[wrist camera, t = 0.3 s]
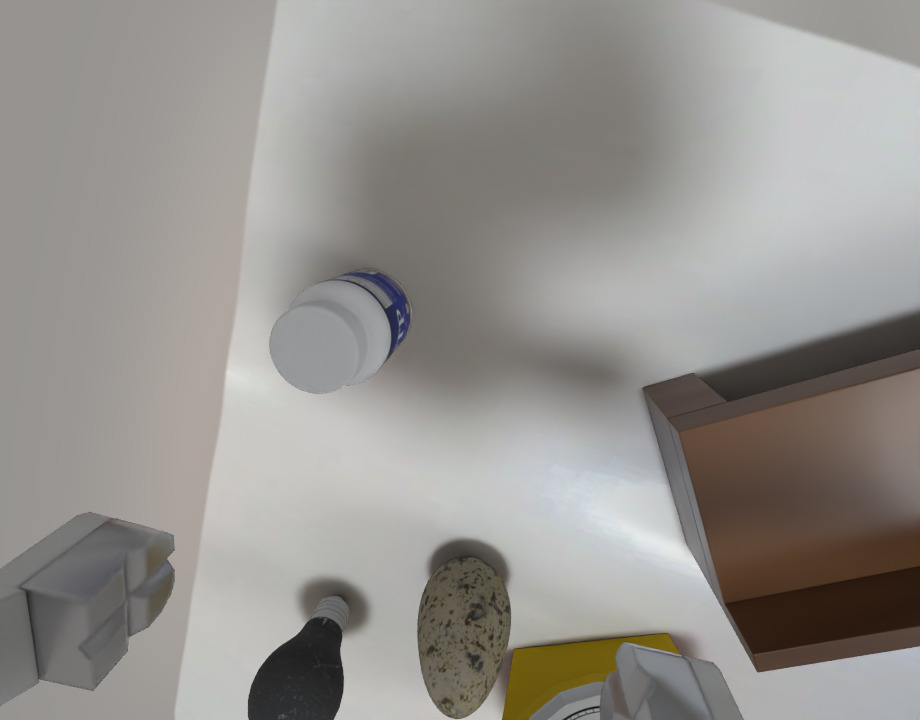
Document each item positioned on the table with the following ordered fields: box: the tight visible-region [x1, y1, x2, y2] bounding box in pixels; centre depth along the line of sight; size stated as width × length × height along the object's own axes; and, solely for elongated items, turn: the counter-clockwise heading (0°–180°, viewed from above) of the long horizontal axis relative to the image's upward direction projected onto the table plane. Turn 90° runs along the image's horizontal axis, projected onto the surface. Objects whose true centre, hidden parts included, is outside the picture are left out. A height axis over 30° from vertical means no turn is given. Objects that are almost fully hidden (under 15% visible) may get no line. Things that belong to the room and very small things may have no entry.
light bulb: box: [248, 596, 349, 720], centre depth 30 cm, size 6×6×10 cm
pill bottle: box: [270, 269, 412, 394], centre depth 23 cm, size 5×5×9 cm
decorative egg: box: [417, 557, 511, 719], centre depth 28 cm, size 6×6×10 cm
